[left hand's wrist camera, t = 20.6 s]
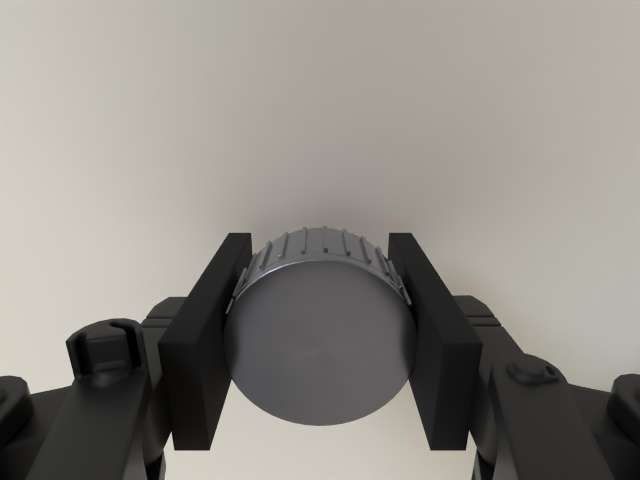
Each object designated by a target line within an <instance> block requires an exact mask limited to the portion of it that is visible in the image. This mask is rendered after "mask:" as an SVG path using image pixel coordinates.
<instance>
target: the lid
mask: <svg viewBox="0 0 640 480" xmlns="http://www.w3.org/2000/svg"><path fill="white" fill-rule="evenodd" d="M231 298H232V299H231V302H230V304H229V306H228V309H227V311H226V320H225V323H224V327H223V334H222V338H223V350H224V359H225V364H226V367H227V370H228V372H229V374H230V376H231V378H232V380H233V381H234V383H235V384H236V386H237V387H238V389H239V390H240V391H241V392H242V393H243V394H244V395H245V397H247V398H248V399H249V400H250V401H251V402H252V403H253V404H255V405H256V406H258V407H259V408H260V409H262V410H264V411H265V412H267V413H269V414H271V415H273V416H275V417H278V418H280V419H283V420H286V421H290V422H293V423H298V424H304V425H314V426H326V425H336V424H343V423H347V422H351V421H354V420H357V419H360V418H362V417H365V416H367V415H369V414H371V413H373V412H375V411H376V410H378V409H380V408H381V407H383V406H384V405H385V404H387V403H388V402H389V401H390V400H391V399H393V398H394V396H395V395H396V394H397V393H398V392H399V391H400V390H401V389H402V387H403V386H404V384H405V383H406V382H407V380H408V378H409V376H410V374H411V372H412V370H413V367H414V364H415V361H416V352H417V341H418V333H417V326H416V323H415V319H414V316H413V314H412V311H411V309H410V308H412V307H413V305H412V303H411V300H410V298H409V296H408V294H407V291H406V289H405V287H404V285H403V282H402V280H401V278H400V276H398V274H397V272H396V269H395V267H394V265H393V262H392V261H391V260H390V261H388V260H387V259H386V258H385V256H384V255H383V254H382V251H381V249H380V248H379V247H377V248H376V247H374V246H373V245H372V244H370V243H369V242H367V241H366V239H365V237H363V236H361V238H360V237H358V236H356V235H354V234H351V233H348V232H347V230H345V229H343V231H341V230H336V229H329V228H327V226H323V228H310V229H307V227H304V228H303V230H299V231H295V232H292V233H289V234H288V233H287V232H286V233H284V235H283V236H282V237H280V238H278V239H276V240H275V241H273V242H270V241H269V242H267V244H266V247H265V248H263V249H262V250H261V251H260V252H259V253H258V254H256V253H255V254H254V255H253V257H252V259H251V261H250V264H249V266H248V268H247V269H246V268H244V269H243V271H242V274H241V276H240V278H239V280H238V283H237V285H236V287H235V290H234V292H233V294H232V296H231Z"/></svg>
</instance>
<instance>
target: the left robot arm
mask: <svg viewBox="0 0 640 480" xmlns="http://www.w3.org/2000/svg"><path fill="white" fill-rule="evenodd" d="M251 259H252V241H251V233H229V234H228V235H227V237H226V239H225V240H224V242H223V243H222V245H221V246H220V248H219V249H218V251H217V252H216V254H215V255H214V257H213V258H212V260H211V262H210V263H209V265H208V266H207V268H206V269H205V271H204V272H203V274H202V275H201V277H200V278H199V280H198V281H197V283H196V284H195V286H194V288H193V289H192V291H191V292H190V294H189V295H188V297H168V298H167V299H165V300H164V301H162V302H160V303H159V304H157V305H156V306H154V308H153V309H152V310H151V311H150V313H149V314H148V315H147V317H146V319H144V320H143V322H142V323H141V324H139V323H138V322H137V321H135V320H131V319H126V318H122V319H109V320H104V321H99V322H96V323H93V324H91V325H88V326H85V327H83V328H82V329H80V330H78V331H77V332H75V333H73V334H72V335H71V336H70V337H69V338H68V339H67V340H66V346H67V350H68V353H69V357H70V361H71V365H72V369H73V373H74V377H75V379H74V381H73V383H72V385H71V386H68V387H64V388H59V389H54V390H50V391H45V392H40V393H35V394H30V392H29V388H28V385H27V382H26V381H25V380H23V379H22V378H21V377H15V376H1V377H0V480H164V478H165V471H166V463H165V456H164V450H163V449H164V447H165V444H166V442H167V440H168V438H169V435H170V433H171V432H172V438H173V444H174V450H210V447H211V444H212V441H213V438H214V434H215V431H216V428H217V425H218V421H219V418H220V415H221V412H222V409H223V405H224V402H225V399H226V396H227V392H228V389H229V386H230V383H231V379H232V378H231V376H230V374H229V372H228V370H227V367H226V364H225V359H224V350H223V338H222V334H223V327H224V323H225V320H226V311H227V309H228V306H229V304H230V302H231V299H232V298H231V296H232V294H233V292H234V290H235V287H236V285H237V283H238V280H239V278H240V276H241V274H242V271H243V269H244V268H246V269H247V268H248V266H249V264H250V261H251ZM390 260H391V261H392V262H393V265H394V267H395V269H396V272H397V274H398V276H400V278H401V280H402V282H403V285H404V287H405V289H406V291H407V294H408V296H409V298H410V300H411V303H412V305H413V307H412V308H410V309H411V311H412V314H413V316H414V319H415V323H416V326H417V333H418V341H417V352H416V361H415V364H414V367H413V370H412V372H411V374H410V376H409V378H408V379H409V382H410V385H411V388H412V392H413V395H414V398H415V401H416V405H417V408H418V411H419V414H420V417H421V421H422V424H423V427H424V430H425V434H426V437H427V440H428V443H429V447H430V450H466V445H467V439H468V433H469V430H470V433H471V435H472V437H473V439H474V442H475V444H476V446H477V450H476V456H475V462H474V467H473V473H472V479H471V480H640V375H638V374H627V375H620V376H619V377H618V378H617V379H615V380H614V383H613V386H612V389H611V393H609V392H605V391H600V390H595V389H590V388H585V387H580V386H576V385H572V384H568V382H567V380H566V378H565V377H564V376H563V374H562V373H561V372H560V371H559V369H557V368H556V367H554V366H553V365H552V364H550V363H549V362H547V361H545V360H543V359H540V358H538V357H536V356H533V355H529V354H524V353H523V351H522V350H521V349H520V348H519V346H518V345H517V344H516V343H515V341H514V340H513V339H512V337H511V336H510V335H509V334H508V332H507V331H506V330H505V329H504V327H501V323H500V322H499V321H498V320H497V318H494V315H493V313H492V312H491V311H490V309H489V308H488V307H487V306H486V305H485V304H484V303H482V302H481V301H479V300H477V299H476V298H474V297H473V296H452V295H451V293H450V292H449V290H448V289H447V287H446V286H445V284H444V283H443V281H442V280H441V278H440V276H439V275H438V273H437V272H436V270H435V269H434V267H433V266H432V264H431V263H430V261H429V260H428V258H427V257H426V255H425V253H424V252H423V250H422V249H421V247H420V246H419V244H418V243H417V241H416V240H415V238H414V237H413V235H412V234H411V233H389V245H388V261H390Z"/></svg>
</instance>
